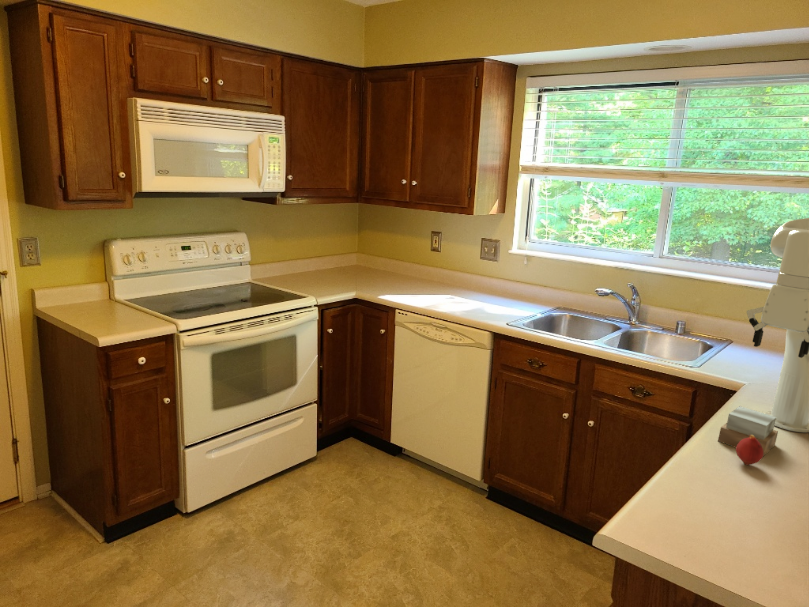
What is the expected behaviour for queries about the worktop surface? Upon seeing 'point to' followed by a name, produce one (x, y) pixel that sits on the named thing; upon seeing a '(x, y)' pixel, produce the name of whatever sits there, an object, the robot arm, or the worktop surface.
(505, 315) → the worktop surface
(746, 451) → the onion
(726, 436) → the wood and metal block
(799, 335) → the robot arm
